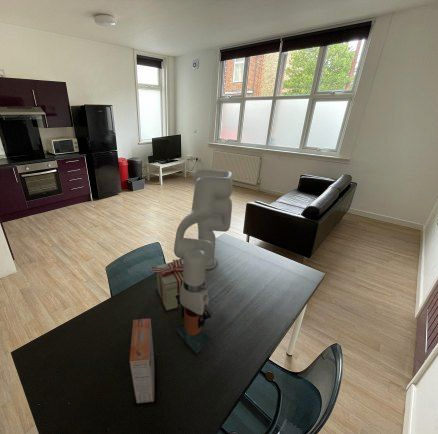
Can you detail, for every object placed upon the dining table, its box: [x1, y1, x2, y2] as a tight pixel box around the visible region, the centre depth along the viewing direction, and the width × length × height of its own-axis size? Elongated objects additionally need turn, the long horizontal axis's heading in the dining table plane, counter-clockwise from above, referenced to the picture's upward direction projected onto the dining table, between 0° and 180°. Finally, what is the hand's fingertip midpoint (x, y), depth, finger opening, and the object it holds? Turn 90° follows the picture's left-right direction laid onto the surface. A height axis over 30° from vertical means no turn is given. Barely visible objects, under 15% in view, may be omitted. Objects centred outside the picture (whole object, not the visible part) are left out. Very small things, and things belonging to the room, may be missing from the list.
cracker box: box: [129, 317, 155, 404], centre depth 75 cm, size 14×6×21 cm, turn 5°
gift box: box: [151, 258, 183, 311], centre depth 112 cm, size 17×18×17 cm
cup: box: [183, 307, 203, 335], centre depth 90 cm, size 7×7×9 cm
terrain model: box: [174, 325, 212, 354], centre depth 94 cm, size 13×8×2 cm, turn 40°
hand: (192, 319), depth 90 cm, fingers closed on cup, 6 cm apart
